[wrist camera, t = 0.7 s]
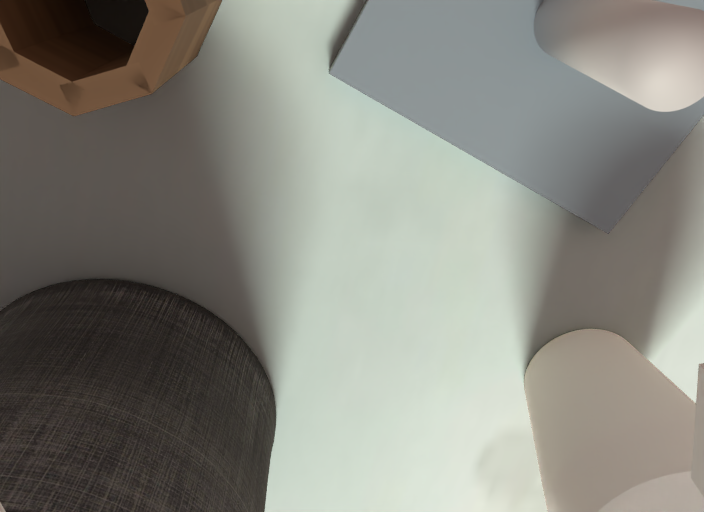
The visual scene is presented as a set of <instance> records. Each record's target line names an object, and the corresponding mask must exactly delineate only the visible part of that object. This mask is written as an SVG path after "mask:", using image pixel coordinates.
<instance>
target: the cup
mask: <svg viewBox="0 0 704 512" xmlns="http://www.w3.org/2000/svg"><path fill="white" fill-rule="evenodd" d="M524 390H525V396H526V401H527V406H528V412H529V417H530V422H531V428H532V433H533V438H534V444H535V449H536V454H537V460H538V465H539V470H540V476H541V481H542V486H543V491H544V497H545V502H546V507H547V511H548V512H704V497H703V495H702V494H701V492H700V491H699V489H698V488H697V486H696V485H695V483H694V482H693V480H692V479H691V470H692V456H693V441H694V427H695V413H696V403H695V402H694V401H693V400H691V399H690V398H689V397H688V396H687V395H686V394H685V393H684V392H683V391H682V390H680V389H679V388H678V387H677V386H676V385H675V384H674V383H673V382H672V381H671V380H670V379H668V378H667V377H666V376H665V375H664V374H663V373H662V372H661V371H660V370H659V369H657V368H656V367H655V366H654V365H653V364H652V363H651V362H650V361H649V360H648V359H646V358H645V357H644V356H643V355H642V354H641V353H640V352H639V351H638V350H637V349H635V348H634V347H633V346H632V345H631V344H630V343H629V342H628V341H627V340H625V339H624V338H623V337H621V336H619V335H617V334H615V333H613V332H610V331H606V330H601V329H581V330H576V331H572V332H568V333H566V334H563V335H561V336H559V337H557V338H555V339H553V340H551V341H550V342H548V343H547V344H546V345H544V346H543V347H542V348H541V349H540V350H539V351H538V352H537V353H536V354H535V356H534V357H533V358H532V360H531V361H530V363H529V365H528V367H527V370H526V373H525V377H524Z"/></svg>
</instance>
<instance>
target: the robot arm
mask: <svg viewBox="0 0 704 512" xmlns="http://www.w3.org/2000/svg"><path fill="white" fill-rule="evenodd" d="M691 479H692V480H693V482H694V483H695V485H696V486H697V488H698V489H699V491H700V492H701V494H702V495H703V497H704V363H703V364H699V369H698V384H697V398H696V413H695V427H694V441H693V456H692V470H691ZM0 512H6V511H5V510H4V508H3V506H2V504H1V503H0Z"/></svg>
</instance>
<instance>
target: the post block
mask: <svg viewBox="0 0 704 512" xmlns="http://www.w3.org/2000/svg"><path fill="white" fill-rule="evenodd" d="M329 74H331V75H332V76H334V77H336V78H338V79H339V80H341V81H343V82H345V83H346V84H348V85H350V86H351V87H353V88H355V89H357V90H358V91H360V92H362V93H364V94H365V95H367V96H369V97H371V98H372V99H374V100H376V101H378V102H379V103H381V104H383V105H385V106H386V107H388V108H390V109H392V110H393V111H395V112H397V113H399V114H400V115H402V116H404V117H405V118H407V119H409V120H411V121H412V122H414V123H416V124H418V125H419V126H421V127H423V128H425V129H426V130H428V131H430V132H432V133H433V134H435V135H437V136H439V137H440V138H442V139H444V140H446V141H447V142H449V143H451V144H452V145H454V146H456V147H458V148H459V149H461V150H463V151H465V152H466V153H468V154H470V155H472V156H473V157H475V158H477V159H479V160H480V161H482V162H484V163H486V164H487V165H489V166H491V167H493V168H494V169H496V170H498V171H499V172H501V173H503V174H505V175H506V176H508V177H510V178H512V179H513V180H515V181H517V182H519V183H520V184H522V185H524V186H526V187H527V188H529V189H531V190H533V191H534V192H536V193H538V194H540V195H541V196H543V197H545V198H546V199H548V200H550V201H552V202H553V203H555V204H557V205H559V206H560V207H562V208H564V209H566V210H567V211H569V212H571V213H573V214H574V215H576V216H578V217H580V218H581V219H583V220H585V221H587V222H588V223H590V224H592V225H594V226H595V227H597V228H599V229H600V230H602V231H604V232H606V233H607V234H609V233H610V231H611V230H612V229H613V228H614V226H615V225H616V224H617V223H618V221H619V220H620V219H621V218H622V216H623V215H624V214H625V213H626V211H627V210H628V209H629V208H630V206H631V205H632V204H633V203H634V201H635V200H636V199H637V198H638V196H639V195H640V194H641V193H642V191H643V190H644V189H645V188H646V186H647V185H648V184H649V183H650V181H651V180H652V179H653V178H654V176H655V175H656V174H657V173H658V171H659V170H660V169H661V168H662V166H663V165H664V164H665V163H666V161H667V160H668V159H669V158H670V156H671V155H672V154H673V153H674V151H675V150H676V149H677V148H678V146H679V145H680V144H681V143H682V141H683V140H684V139H685V138H686V136H687V135H688V134H689V133H690V131H691V130H692V129H693V128H694V126H695V125H696V124H697V123H698V121H699V120H700V119H701V118H702V116H703V115H704V0H367V1H366V3H365V4H364V6H363V8H362V10H361V12H360V14H359V15H358V17H357V19H356V21H355V23H354V25H353V27H352V28H351V30H350V32H349V34H348V36H347V38H346V39H345V41H344V43H343V45H342V47H341V49H340V51H339V52H338V54H337V56H336V58H335V60H334V62H333V63H332V65H331V67H330V69H329Z"/></svg>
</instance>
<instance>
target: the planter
mask: <svg viewBox="0 0 704 512" xmlns="http://www.w3.org/2000/svg"><path fill="white" fill-rule="evenodd" d="M275 427H276V410H275V402H274V397H273V393H272V389H271V386H270V383H269V381H268V378H267V376H266V374H265V372H264V370H263V368H262V366H261V364H260V363H259V361H258V359H257V358H256V356H255V355H254V353H253V352H252V351H251V349H250V348H249V347H248V345H247V344H246V343H245V342H244V341H243V340H242V339H241V338H240V337H239V335H238V334H237V333H236V332H235V331H233V330H232V329H231V328H230V327H229V326H228V325H227V324H226V323H224V322H223V321H222V320H220V319H219V318H218V317H216V316H215V315H214V314H212V313H210V312H209V311H207V310H206V309H204V308H203V307H201V306H199V305H197V304H195V303H194V302H192V301H190V300H187V299H185V298H183V297H181V296H179V295H176V294H174V293H171V292H169V291H165V290H162V289H159V288H156V287H152V286H148V285H144V284H140V283H134V282H129V281H120V280H105V279H94V280H79V281H71V282H65V283H60V284H56V285H52V286H48V287H45V288H42V289H39V290H37V291H34V292H32V293H30V294H27V295H25V296H23V297H21V298H20V299H18V300H16V301H14V302H13V303H11V304H10V305H8V306H7V307H5V308H4V309H3V310H2V311H0V503H1V504H2V506H3V508H4V510H5V511H6V512H264V509H265V500H266V491H267V482H268V474H269V466H270V457H271V451H272V447H273V442H274V436H275Z"/></svg>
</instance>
